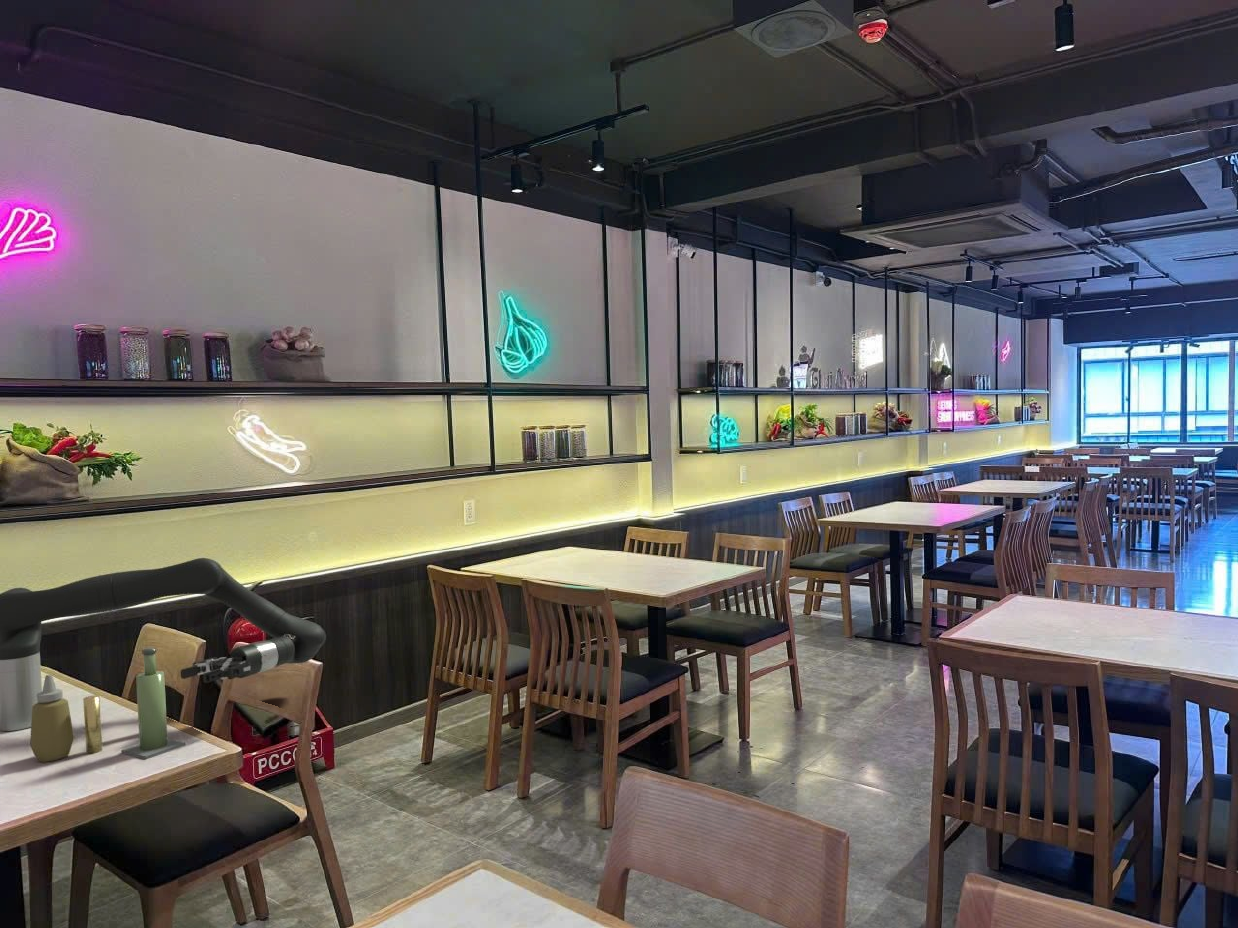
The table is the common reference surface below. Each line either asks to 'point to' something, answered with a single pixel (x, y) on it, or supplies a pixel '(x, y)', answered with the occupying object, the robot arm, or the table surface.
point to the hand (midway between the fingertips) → (192, 676)
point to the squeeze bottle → (51, 724)
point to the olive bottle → (151, 704)
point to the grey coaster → (147, 754)
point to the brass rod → (92, 724)
